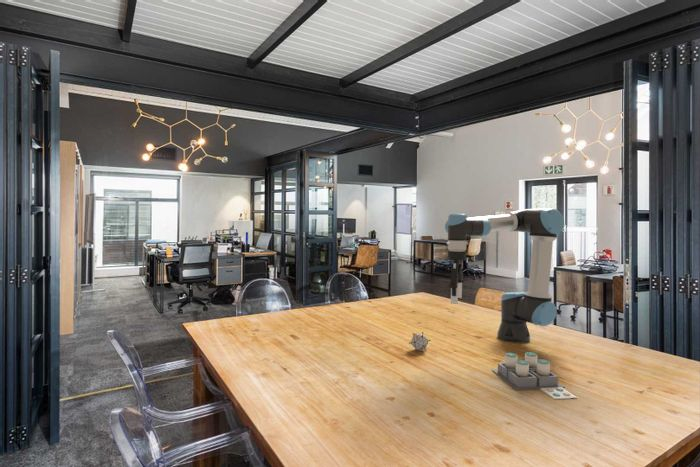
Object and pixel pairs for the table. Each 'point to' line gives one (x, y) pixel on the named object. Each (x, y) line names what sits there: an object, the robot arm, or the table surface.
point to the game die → (419, 341)
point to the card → (558, 393)
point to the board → (526, 379)
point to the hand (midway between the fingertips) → (456, 300)
